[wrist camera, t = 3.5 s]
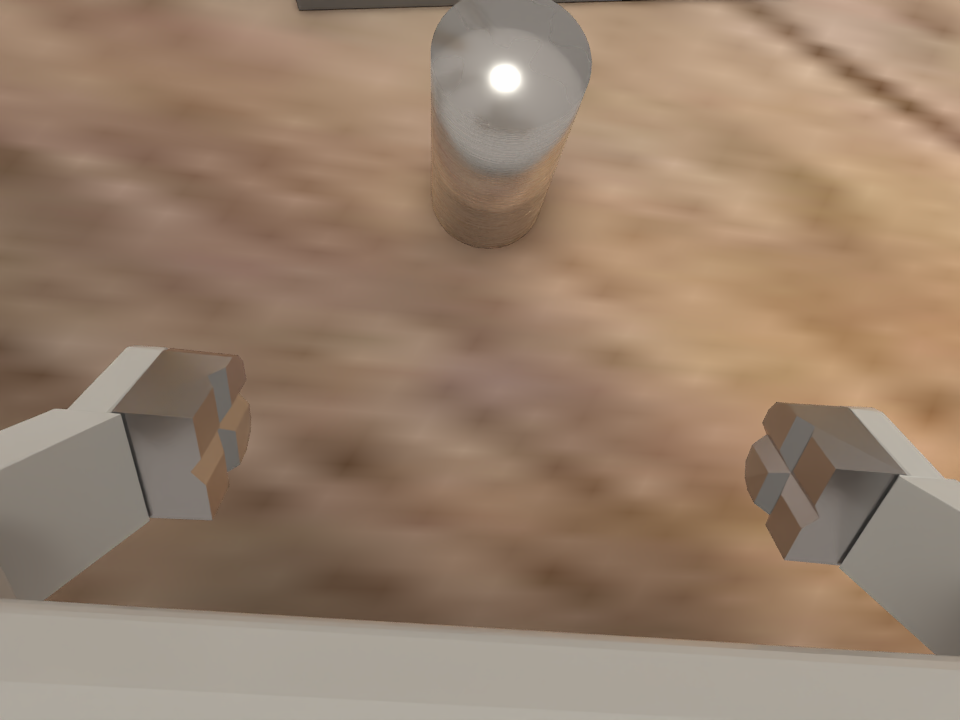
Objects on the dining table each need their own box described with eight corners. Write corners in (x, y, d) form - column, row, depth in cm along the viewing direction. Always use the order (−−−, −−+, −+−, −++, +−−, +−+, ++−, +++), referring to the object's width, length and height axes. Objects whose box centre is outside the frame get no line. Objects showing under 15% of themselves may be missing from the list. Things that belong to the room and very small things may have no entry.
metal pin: (436, 251, 23) (438, 133, 16) (427, 150, 24) (424, -11, 16) (547, 244, 24) (602, 125, 16) (533, 144, 25) (579, -15, 17)
